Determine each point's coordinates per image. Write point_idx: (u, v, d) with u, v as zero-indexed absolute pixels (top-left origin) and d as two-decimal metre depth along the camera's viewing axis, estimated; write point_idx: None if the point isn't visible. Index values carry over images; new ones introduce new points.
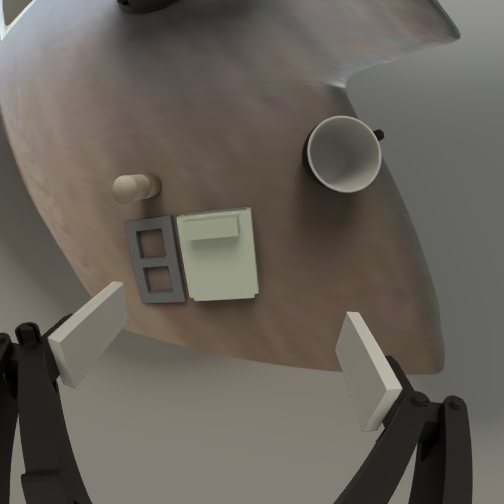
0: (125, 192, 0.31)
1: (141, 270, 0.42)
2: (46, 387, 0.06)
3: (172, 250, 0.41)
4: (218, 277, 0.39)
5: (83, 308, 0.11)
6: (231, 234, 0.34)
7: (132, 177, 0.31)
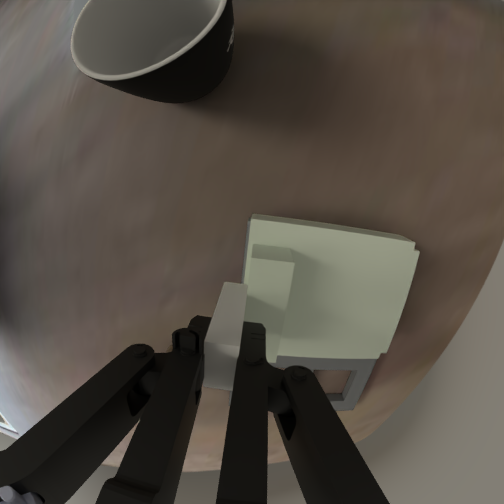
0: None
1: None
2: (187, 402, 0.08)
3: (291, 359, 0.24)
4: (364, 308, 0.19)
5: (218, 309, 0.14)
6: (288, 277, 0.15)
7: None
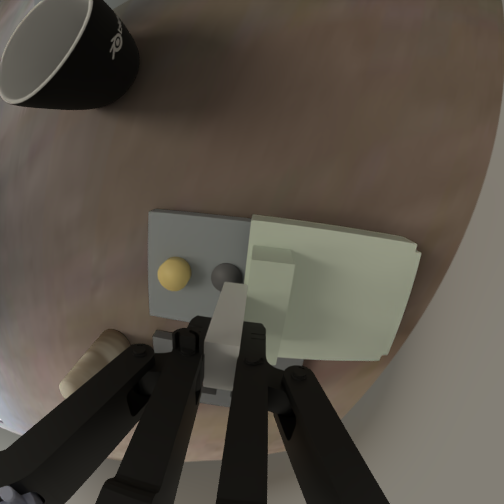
0: None
1: None
2: (187, 402, 0.08)
3: None
4: (365, 310, 0.19)
5: (218, 309, 0.14)
6: (288, 278, 0.15)
7: (63, 379, 0.17)
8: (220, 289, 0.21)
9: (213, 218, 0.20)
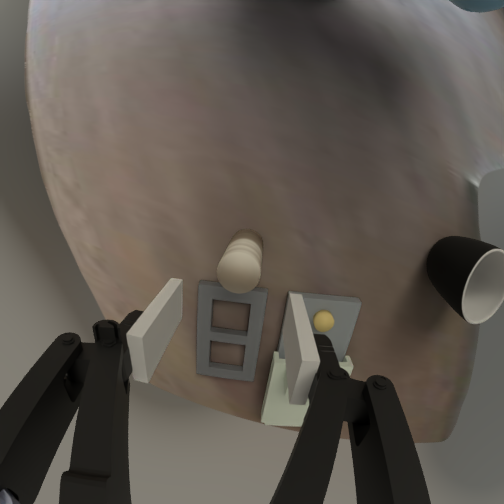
0: (240, 278, 0.23)
1: (207, 342, 0.34)
2: (116, 389, 0.08)
3: (257, 330, 0.33)
4: (297, 412, 0.33)
5: (152, 304, 0.13)
6: None
7: (255, 258, 0.23)
8: None
9: (350, 338, 0.33)
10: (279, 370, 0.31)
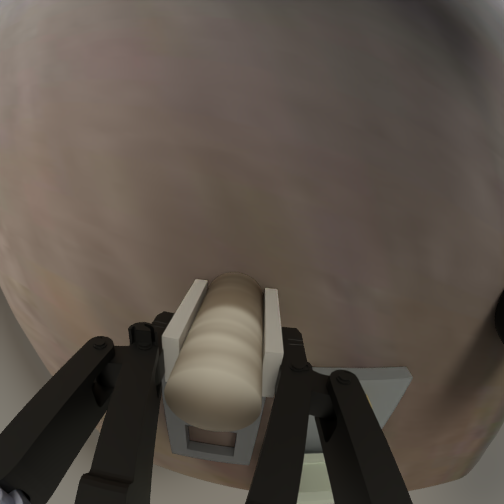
0: (217, 411, 0.09)
1: (182, 426, 0.20)
2: (148, 394, 0.08)
3: None
4: None
5: (182, 305, 0.13)
6: None
7: (251, 375, 0.09)
8: None
9: (387, 418, 0.19)
10: None
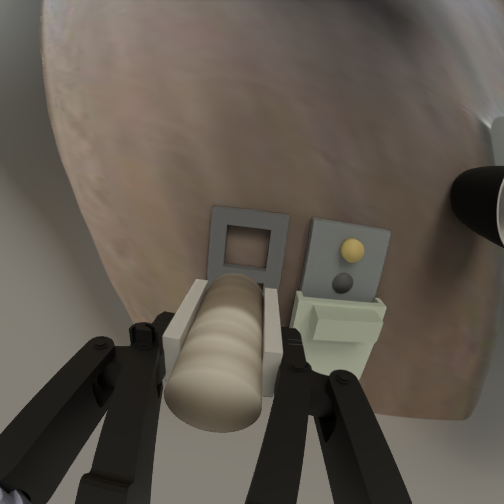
0: (217, 412, 0.09)
1: None
2: (148, 394, 0.08)
3: (277, 264, 0.29)
4: (322, 370, 0.30)
5: (183, 305, 0.13)
6: (369, 340, 0.25)
7: (251, 376, 0.09)
8: (336, 279, 0.29)
9: (380, 275, 0.29)
10: (304, 310, 0.28)
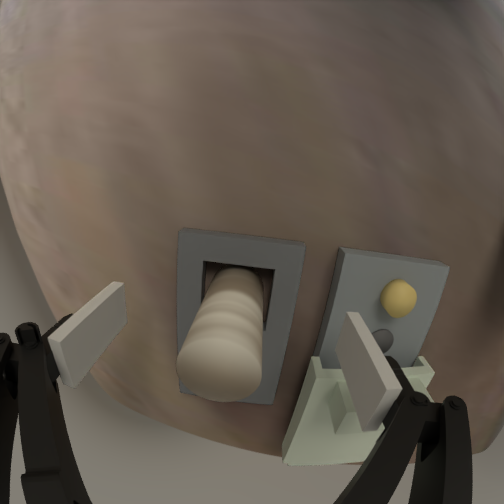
0: (222, 381, 0.11)
1: None
2: (46, 387, 0.06)
3: (283, 320, 0.18)
4: (340, 447, 0.19)
5: (83, 308, 0.11)
6: None
7: (252, 346, 0.11)
8: None
9: (428, 327, 0.18)
10: (323, 389, 0.17)
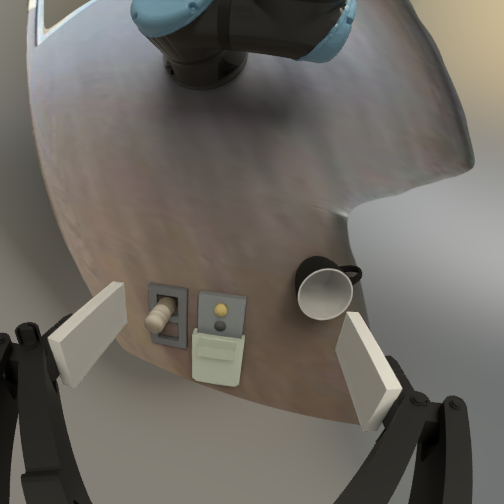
0: (154, 327, 0.45)
1: None
2: (46, 387, 0.06)
3: (183, 314, 0.53)
4: (214, 372, 0.54)
5: (83, 308, 0.11)
6: (228, 359, 0.49)
7: (160, 318, 0.45)
8: (215, 324, 0.53)
9: (243, 323, 0.53)
10: (196, 339, 0.52)
